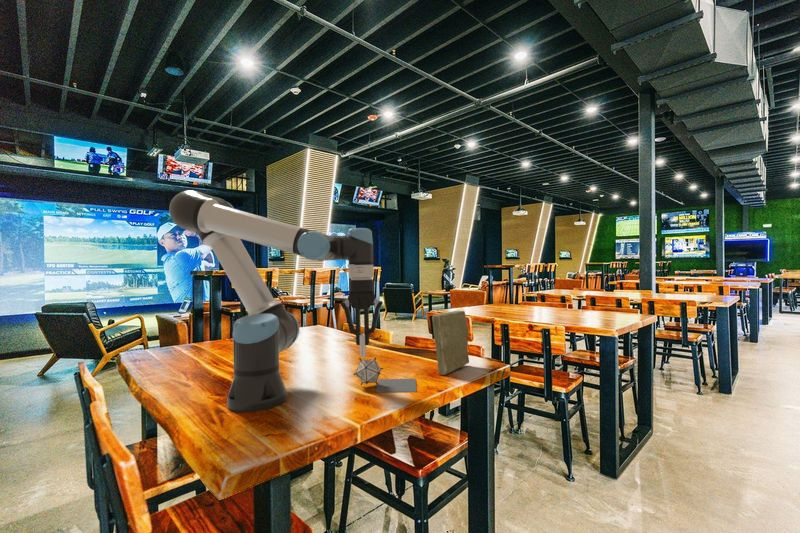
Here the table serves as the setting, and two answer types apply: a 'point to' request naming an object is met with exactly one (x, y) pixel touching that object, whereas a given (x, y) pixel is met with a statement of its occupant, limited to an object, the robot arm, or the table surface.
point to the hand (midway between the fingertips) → (363, 355)
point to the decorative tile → (451, 340)
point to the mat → (396, 385)
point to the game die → (368, 371)
